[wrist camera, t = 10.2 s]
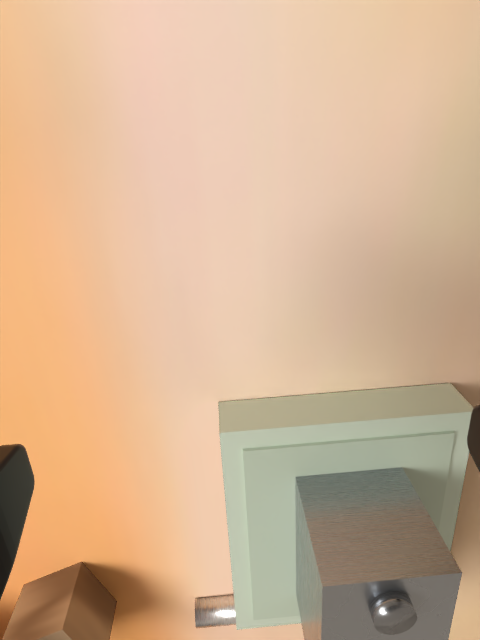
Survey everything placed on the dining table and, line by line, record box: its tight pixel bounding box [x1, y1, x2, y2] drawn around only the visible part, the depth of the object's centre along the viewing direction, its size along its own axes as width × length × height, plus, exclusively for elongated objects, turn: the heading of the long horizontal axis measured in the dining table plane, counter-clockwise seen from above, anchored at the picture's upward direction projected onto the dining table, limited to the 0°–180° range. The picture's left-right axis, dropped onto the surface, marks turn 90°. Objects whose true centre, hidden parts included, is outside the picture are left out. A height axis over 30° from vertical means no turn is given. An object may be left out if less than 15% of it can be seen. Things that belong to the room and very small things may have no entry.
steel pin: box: [195, 595, 236, 628], centre depth 28 cm, size 7×2×2 cm
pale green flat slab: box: [218, 383, 473, 630], centre depth 25 cm, size 12×14×3 cm
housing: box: [295, 467, 462, 640], centre depth 20 cm, size 5×8×6 cm, turn 3°
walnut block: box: [2, 562, 117, 640], centre depth 26 cm, size 4×4×4 cm
